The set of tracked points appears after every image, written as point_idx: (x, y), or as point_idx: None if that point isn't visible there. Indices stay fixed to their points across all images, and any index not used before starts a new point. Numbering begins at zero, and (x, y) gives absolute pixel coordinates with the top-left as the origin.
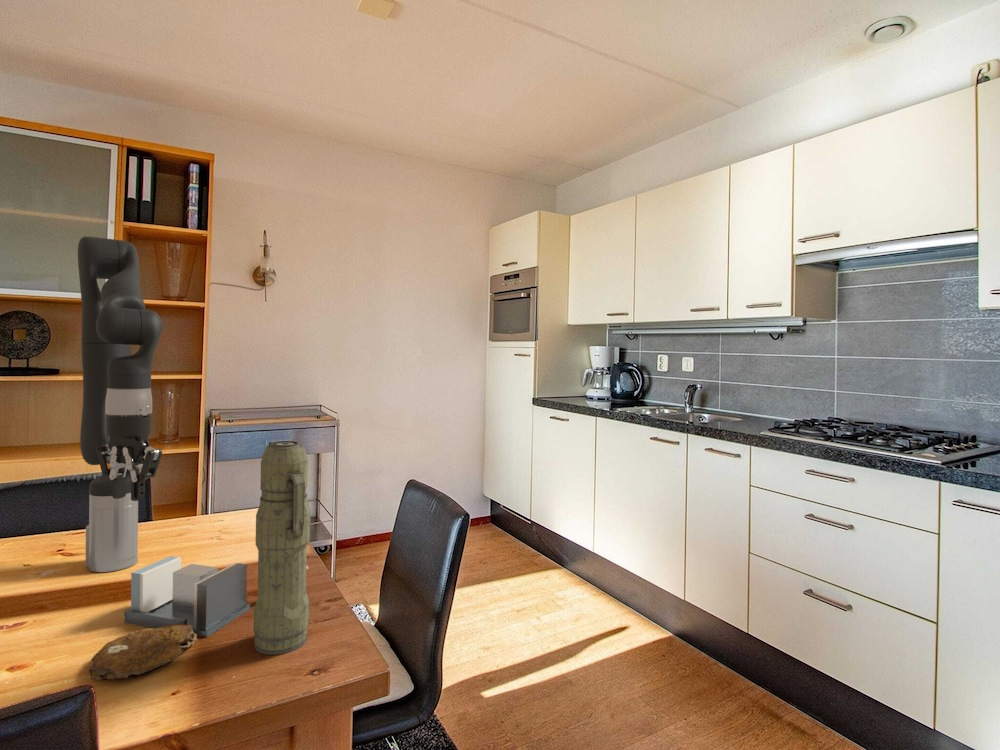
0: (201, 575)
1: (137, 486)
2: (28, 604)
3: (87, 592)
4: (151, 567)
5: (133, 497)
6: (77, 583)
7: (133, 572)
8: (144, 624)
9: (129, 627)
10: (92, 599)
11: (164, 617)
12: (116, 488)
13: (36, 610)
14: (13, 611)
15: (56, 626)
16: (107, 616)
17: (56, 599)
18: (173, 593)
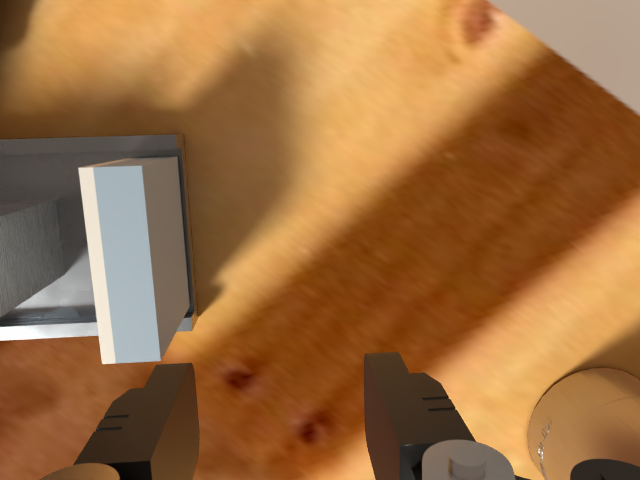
0: None
1: (99, 457)
2: (577, 131)
3: (484, 252)
4: (117, 239)
5: (152, 372)
6: (574, 290)
7: (135, 170)
8: (101, 136)
9: (141, 117)
10: (424, 221)
11: (8, 141)
12: (382, 404)
13: (515, 109)
14: (574, 81)
15: (356, 50)
16: (272, 150)
17: (529, 184)
18: (16, 210)
